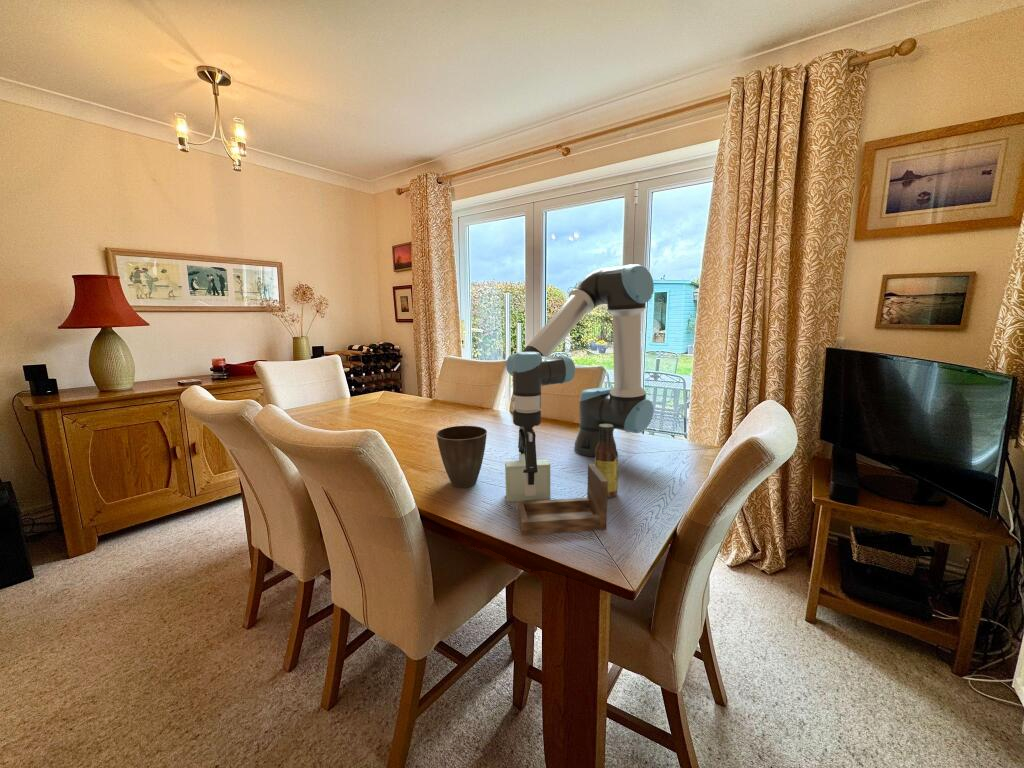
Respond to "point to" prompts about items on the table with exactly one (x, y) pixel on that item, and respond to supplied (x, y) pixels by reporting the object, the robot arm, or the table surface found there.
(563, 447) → the table surface
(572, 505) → the wooden l-shaped stand
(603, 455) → the sauce bottle
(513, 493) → the cream rectangular block
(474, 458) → the plant pot
